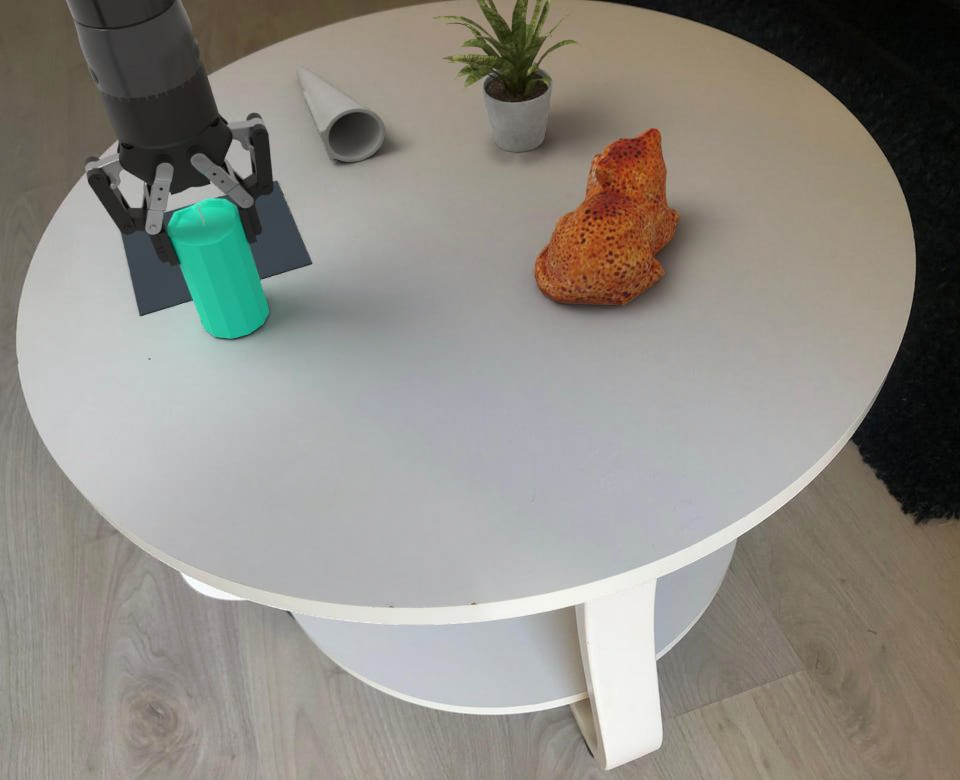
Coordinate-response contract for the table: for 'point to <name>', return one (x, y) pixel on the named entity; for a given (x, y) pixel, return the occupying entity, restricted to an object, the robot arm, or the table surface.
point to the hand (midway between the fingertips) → (212, 248)
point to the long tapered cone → (341, 119)
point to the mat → (271, 252)
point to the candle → (219, 267)
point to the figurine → (612, 229)
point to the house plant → (511, 74)
